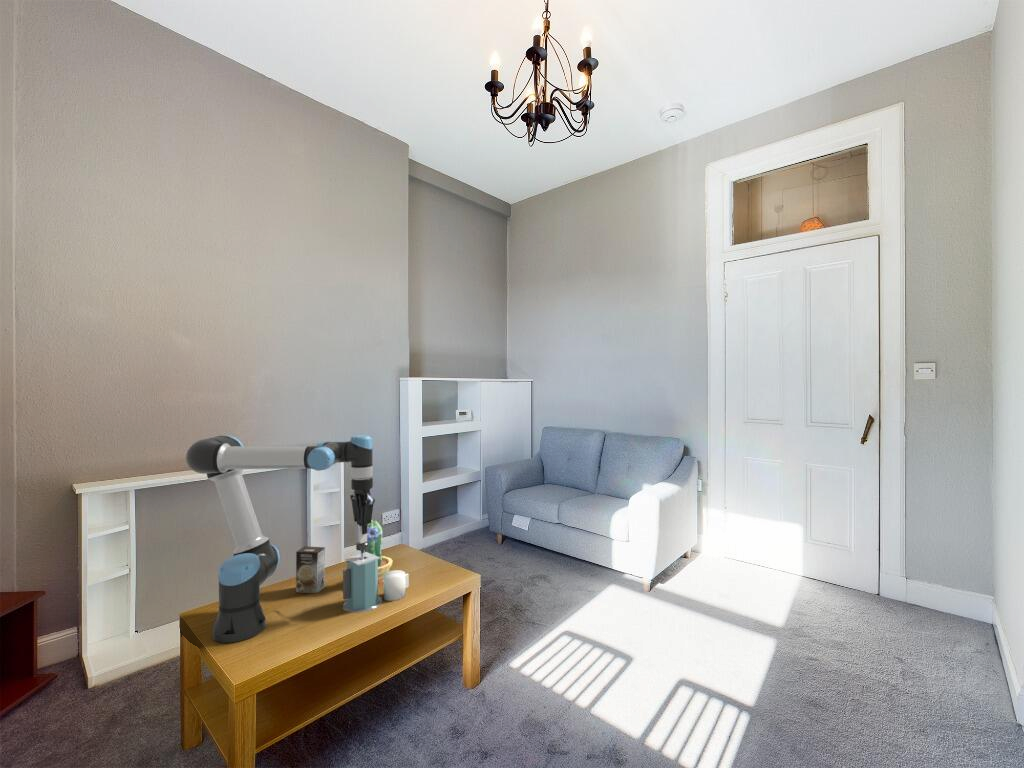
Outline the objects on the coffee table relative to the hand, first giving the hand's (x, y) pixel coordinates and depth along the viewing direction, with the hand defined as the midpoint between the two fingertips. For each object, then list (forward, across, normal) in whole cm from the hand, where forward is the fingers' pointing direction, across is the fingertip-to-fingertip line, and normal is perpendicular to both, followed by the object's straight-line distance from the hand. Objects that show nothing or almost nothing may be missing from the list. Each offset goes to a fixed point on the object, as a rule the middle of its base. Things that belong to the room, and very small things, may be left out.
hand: (362, 542), depth 171 cm
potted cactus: (+23, +15, -14) cm, 31 cm away
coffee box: (+23, +28, +6) cm, 37 cm away
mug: (+23, -4, -12) cm, 26 cm away
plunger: (+17, 0, 0) cm, 17 cm away
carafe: (+22, 0, +1) cm, 22 cm away
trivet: (+23, 0, 0) cm, 23 cm away
